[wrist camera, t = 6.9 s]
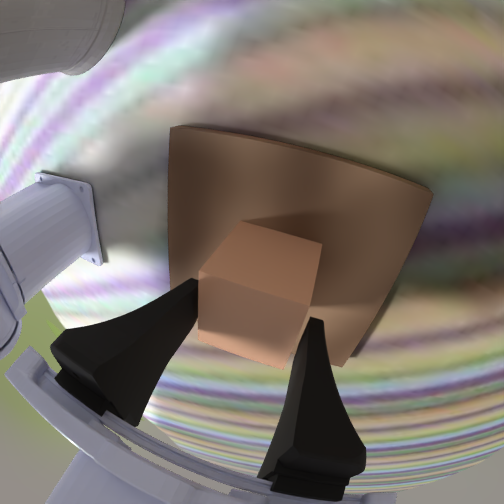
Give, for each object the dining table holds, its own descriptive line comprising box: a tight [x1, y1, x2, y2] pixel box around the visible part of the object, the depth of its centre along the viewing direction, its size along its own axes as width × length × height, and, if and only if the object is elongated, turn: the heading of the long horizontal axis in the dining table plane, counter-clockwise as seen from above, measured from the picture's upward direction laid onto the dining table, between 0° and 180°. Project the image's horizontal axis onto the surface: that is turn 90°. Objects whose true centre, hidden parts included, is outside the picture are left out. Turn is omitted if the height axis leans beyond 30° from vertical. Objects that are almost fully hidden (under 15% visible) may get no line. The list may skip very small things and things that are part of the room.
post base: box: [168, 126, 434, 367], centre depth 15 cm, size 14×14×5 cm
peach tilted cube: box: [198, 221, 322, 370], centre depth 14 cm, size 5×5×5 cm
